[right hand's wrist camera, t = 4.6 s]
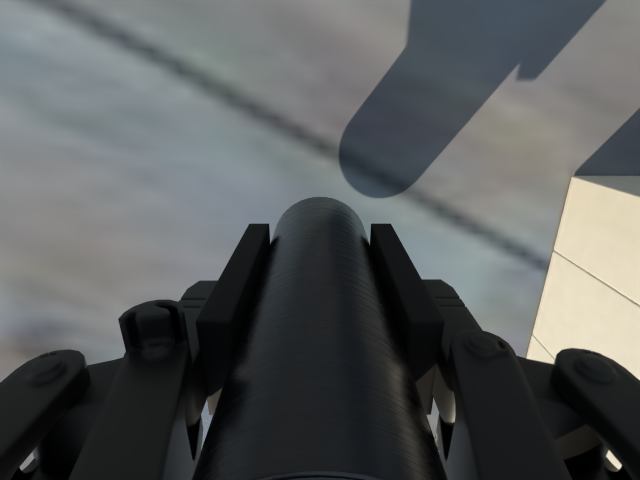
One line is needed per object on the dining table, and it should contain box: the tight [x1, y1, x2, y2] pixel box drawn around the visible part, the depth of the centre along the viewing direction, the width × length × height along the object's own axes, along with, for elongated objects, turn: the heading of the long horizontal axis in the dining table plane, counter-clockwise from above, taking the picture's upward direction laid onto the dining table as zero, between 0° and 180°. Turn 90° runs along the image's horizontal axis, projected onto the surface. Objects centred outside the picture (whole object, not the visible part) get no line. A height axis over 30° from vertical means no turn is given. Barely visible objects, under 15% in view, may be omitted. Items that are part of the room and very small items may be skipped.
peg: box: [192, 197, 448, 480], centre depth 10 cm, size 4×4×12 cm
